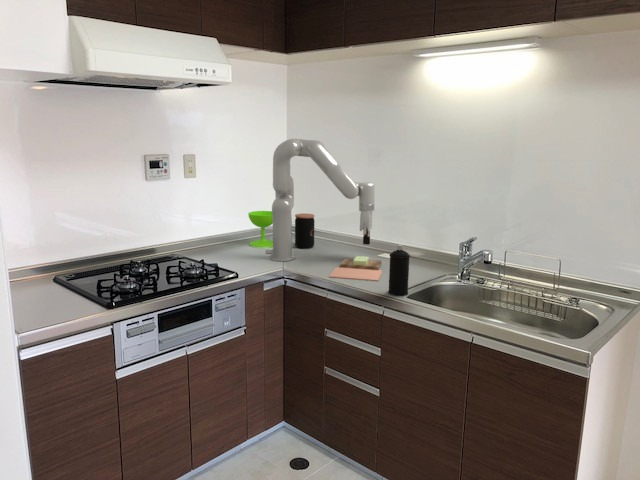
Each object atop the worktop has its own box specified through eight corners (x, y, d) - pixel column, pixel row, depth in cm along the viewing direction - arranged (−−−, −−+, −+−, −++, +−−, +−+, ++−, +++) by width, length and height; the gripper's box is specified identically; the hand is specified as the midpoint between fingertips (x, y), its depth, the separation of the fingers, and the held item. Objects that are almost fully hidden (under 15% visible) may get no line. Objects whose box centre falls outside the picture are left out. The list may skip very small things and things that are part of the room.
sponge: (353, 264, 246) (353, 260, 246) (356, 260, 255) (356, 256, 255) (365, 265, 245) (366, 261, 245) (368, 260, 254) (368, 256, 253)
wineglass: (282, 243, 299) (281, 212, 295) (269, 249, 284) (269, 216, 280) (257, 240, 304) (256, 210, 300) (243, 246, 290) (243, 214, 286)
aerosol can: (403, 297, 206) (405, 248, 202) (384, 293, 211) (386, 245, 206) (411, 292, 213) (413, 244, 209) (393, 288, 218) (394, 241, 213)
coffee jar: (313, 249, 284) (314, 216, 281) (294, 249, 285) (294, 216, 281) (314, 244, 295) (314, 213, 291) (295, 244, 295) (295, 213, 291)
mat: (328, 277, 233) (329, 276, 232) (336, 268, 248) (336, 267, 248) (378, 281, 228) (378, 280, 227) (382, 271, 243) (382, 270, 243)
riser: (340, 268, 247) (340, 264, 247) (345, 262, 259) (345, 258, 258) (378, 271, 243) (378, 267, 243) (381, 264, 255) (381, 260, 254)
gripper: (361, 205, 263) (361, 240, 267) (356, 209, 249) (356, 247, 253) (376, 205, 262) (376, 241, 266) (372, 210, 248) (371, 247, 251)
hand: (366, 244), depth 259 cm, fingers closed
